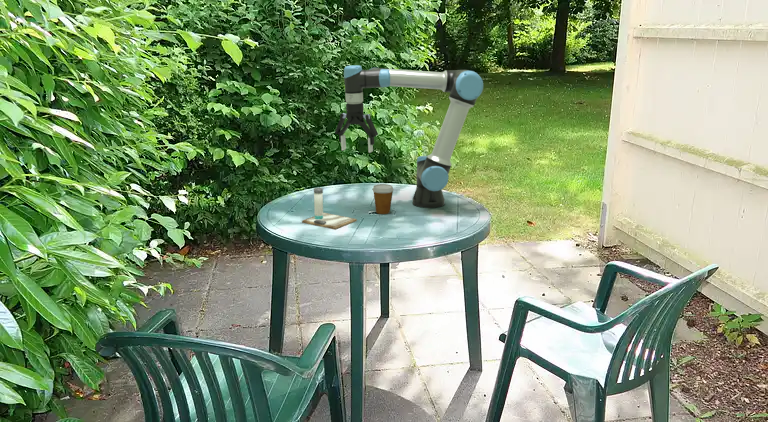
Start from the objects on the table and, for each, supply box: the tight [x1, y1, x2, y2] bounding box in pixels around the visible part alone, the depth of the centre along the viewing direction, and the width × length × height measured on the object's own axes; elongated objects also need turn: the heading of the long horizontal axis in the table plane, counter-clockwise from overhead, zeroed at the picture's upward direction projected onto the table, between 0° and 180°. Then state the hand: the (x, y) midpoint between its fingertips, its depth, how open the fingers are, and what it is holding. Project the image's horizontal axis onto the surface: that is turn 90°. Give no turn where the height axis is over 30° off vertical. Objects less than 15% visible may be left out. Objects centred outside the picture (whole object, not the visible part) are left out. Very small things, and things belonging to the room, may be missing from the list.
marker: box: [313, 187, 324, 219], centre depth 266 cm, size 4×4×13 cm
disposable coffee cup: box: [372, 183, 395, 215], centre depth 279 cm, size 10×10×12 cm
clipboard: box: [301, 212, 358, 230], centre depth 266 cm, size 18×15×2 cm
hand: (357, 150), depth 274 cm, fingers open, 13 cm apart
